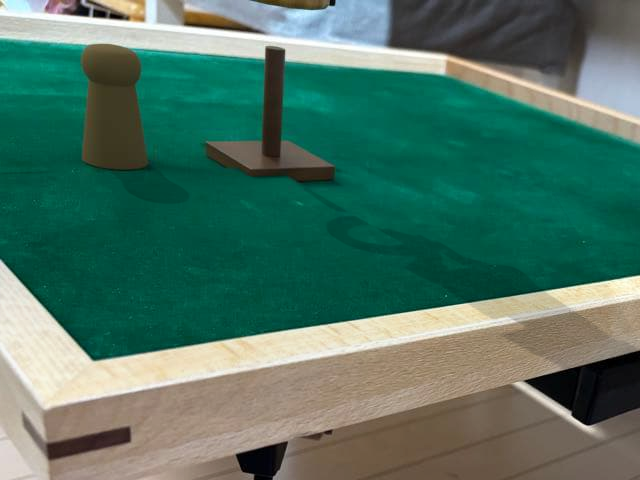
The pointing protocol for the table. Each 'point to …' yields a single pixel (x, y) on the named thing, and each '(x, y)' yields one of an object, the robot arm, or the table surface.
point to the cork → (112, 108)
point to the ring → (297, 4)
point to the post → (271, 137)
